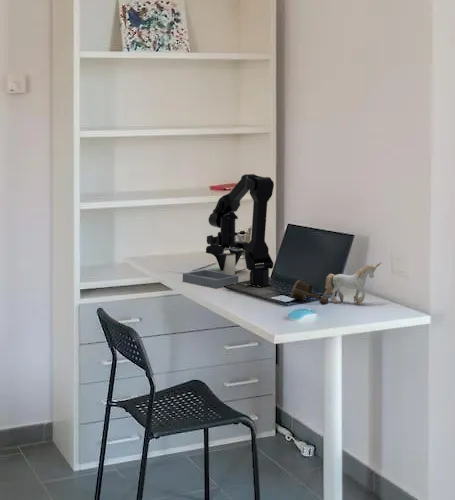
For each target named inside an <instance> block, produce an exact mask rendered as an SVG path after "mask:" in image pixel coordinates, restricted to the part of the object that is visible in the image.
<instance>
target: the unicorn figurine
mask: <svg viewBox="0 0 455 500" xmlns="http://www.w3.org/2000/svg"><path fill="white" fill-rule="evenodd" d="M381 264H382V262H379V263H377V264H376V265H373V264H372V263H369V264H367V265H365V266H362V267H361V268H359V269H358V270H356V272H355V273H354V274H351V275H347V274H344V273H338V274H333V273H329V274H327V276H325V277H326V279H325V286H324V288H325V290H324V293H323V294H322V296H330V295H331V297H330V301H331V302H334V304H339V303H340V302H339V301H341V302H343V301H344V294H343V292H342V291H341V288H342V287H344V288H347V289H352V290H353V289H356V291H355V295H354V296H353V302H356V303H357V304H358V306H360V305H362V303H363V302H364V301H365V297H366V292H365V290H364V287H365V285H366V282H367V281H366V279H367V277H368V278H369V279H373V278H374V277H375V275H374V274H375V271H376V270H377V268H378V267H379V266H380V265H381ZM336 292H337V294H338V297H339V300H338V299H337V298H336ZM360 293H361V296H359V294H360Z"/></svg>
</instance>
